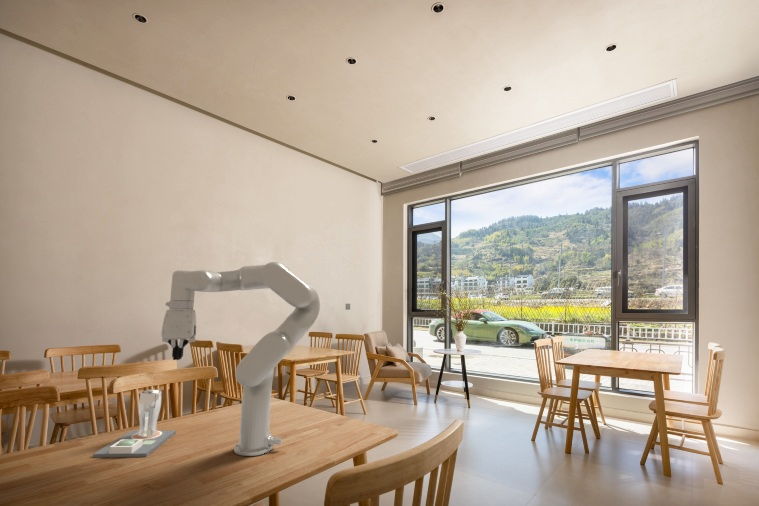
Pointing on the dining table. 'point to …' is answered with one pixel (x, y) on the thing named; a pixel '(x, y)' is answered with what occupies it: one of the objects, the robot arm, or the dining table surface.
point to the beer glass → (149, 412)
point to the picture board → (135, 445)
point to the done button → (127, 442)
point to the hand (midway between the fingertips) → (177, 359)
